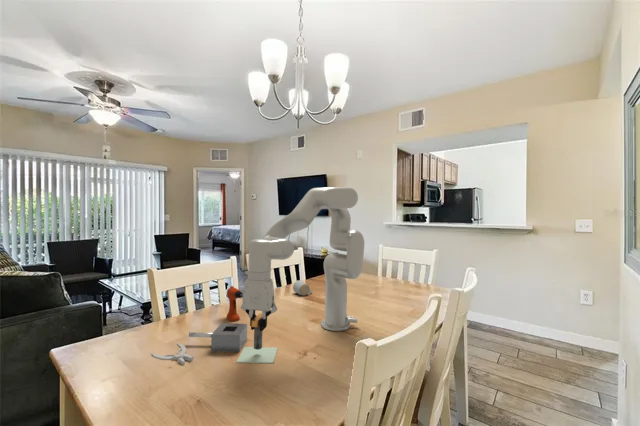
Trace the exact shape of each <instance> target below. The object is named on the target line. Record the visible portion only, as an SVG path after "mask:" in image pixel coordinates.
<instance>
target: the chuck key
mask: <svg viewBox="0 0 640 426" xmlns="http://www.w3.org/2000/svg"><path fill="white" fill-rule="evenodd" d="M261 319H262V312H261V313H258V314H257V315H256V317H255V318H254V319H253V320H252V327H254V329H253V330H254V331H253V347H254V349H256V350H258V349H261V348H262V347H263V331H261Z"/></svg>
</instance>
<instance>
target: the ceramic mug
mask: <svg viewBox="0 0 640 426" xmlns="http://www.w3.org/2000/svg"><path fill="white" fill-rule="evenodd" d="M292 290H293V292H294V293H295V294H298V295H300V296H303V297H304V296H307V295H308V294H312V292H313V291H312V290H311V289H310V286H309V285H308V283H306V282H305V281H303V280H302V279H301V280H299V279H298V280H296V281H294V283H293V285H292Z"/></svg>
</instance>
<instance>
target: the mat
mask: <svg viewBox="0 0 640 426" xmlns="http://www.w3.org/2000/svg"><path fill="white" fill-rule="evenodd" d="M243 347H244V348H242V351H241V353H240V355H239V357H238V358H237V360H236V363H237V364H270V365H271V364H273V365H274V363H275V362H274V361H275V359H276V355H277V353H278V352H277V351H278V349H279V347H268V346H267V347H266V346H264V347H263V346H262V348H261V349H258V350H256V349H254V346H243Z"/></svg>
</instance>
